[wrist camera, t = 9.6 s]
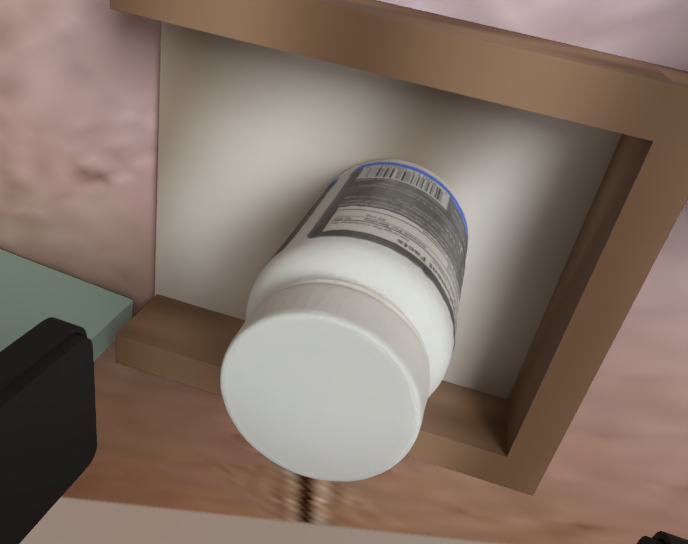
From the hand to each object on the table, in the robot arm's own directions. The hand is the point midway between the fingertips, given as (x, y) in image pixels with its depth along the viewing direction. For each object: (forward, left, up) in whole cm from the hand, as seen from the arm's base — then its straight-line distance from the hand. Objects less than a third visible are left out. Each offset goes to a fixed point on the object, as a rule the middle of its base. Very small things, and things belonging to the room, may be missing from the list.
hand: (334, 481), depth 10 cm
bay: (+1, 0, -10) cm, 10 cm away
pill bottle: (+1, 0, -10) cm, 10 cm away
